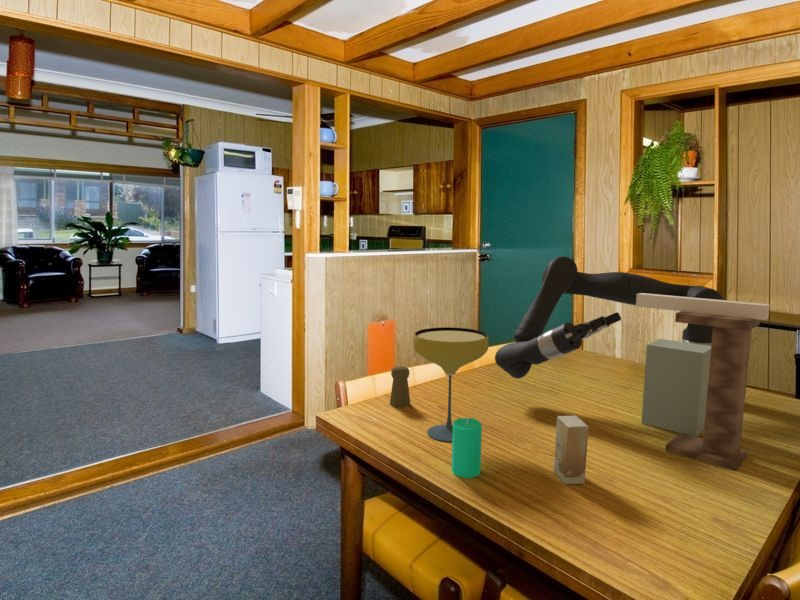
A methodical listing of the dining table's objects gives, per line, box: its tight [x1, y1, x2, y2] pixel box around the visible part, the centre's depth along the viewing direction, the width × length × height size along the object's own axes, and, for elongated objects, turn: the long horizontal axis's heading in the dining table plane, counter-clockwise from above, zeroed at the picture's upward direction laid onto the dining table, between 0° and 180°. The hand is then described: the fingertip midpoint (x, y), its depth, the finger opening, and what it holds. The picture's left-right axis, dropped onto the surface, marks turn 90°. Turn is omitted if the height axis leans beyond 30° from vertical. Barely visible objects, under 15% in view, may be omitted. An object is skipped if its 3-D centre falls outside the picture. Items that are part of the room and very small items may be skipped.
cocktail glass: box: [412, 326, 490, 443], centre depth 131 cm, size 18×18×25 cm
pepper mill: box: [389, 365, 411, 408], centre depth 154 cm, size 6×6×11 cm
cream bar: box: [635, 293, 770, 321], centre depth 120 cm, size 26×3×3 cm, turn 46°
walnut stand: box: [665, 311, 761, 471], centre depth 120 cm, size 14×10×32 cm
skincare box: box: [553, 415, 589, 485], centre depth 109 cm, size 6×4×12 cm
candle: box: [451, 415, 483, 479], centre depth 112 cm, size 6×6×12 cm
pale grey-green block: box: [641, 338, 711, 437], centre depth 138 cm, size 13×10×21 cm
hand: (612, 317), depth 134 cm, fingers open, 8 cm apart
